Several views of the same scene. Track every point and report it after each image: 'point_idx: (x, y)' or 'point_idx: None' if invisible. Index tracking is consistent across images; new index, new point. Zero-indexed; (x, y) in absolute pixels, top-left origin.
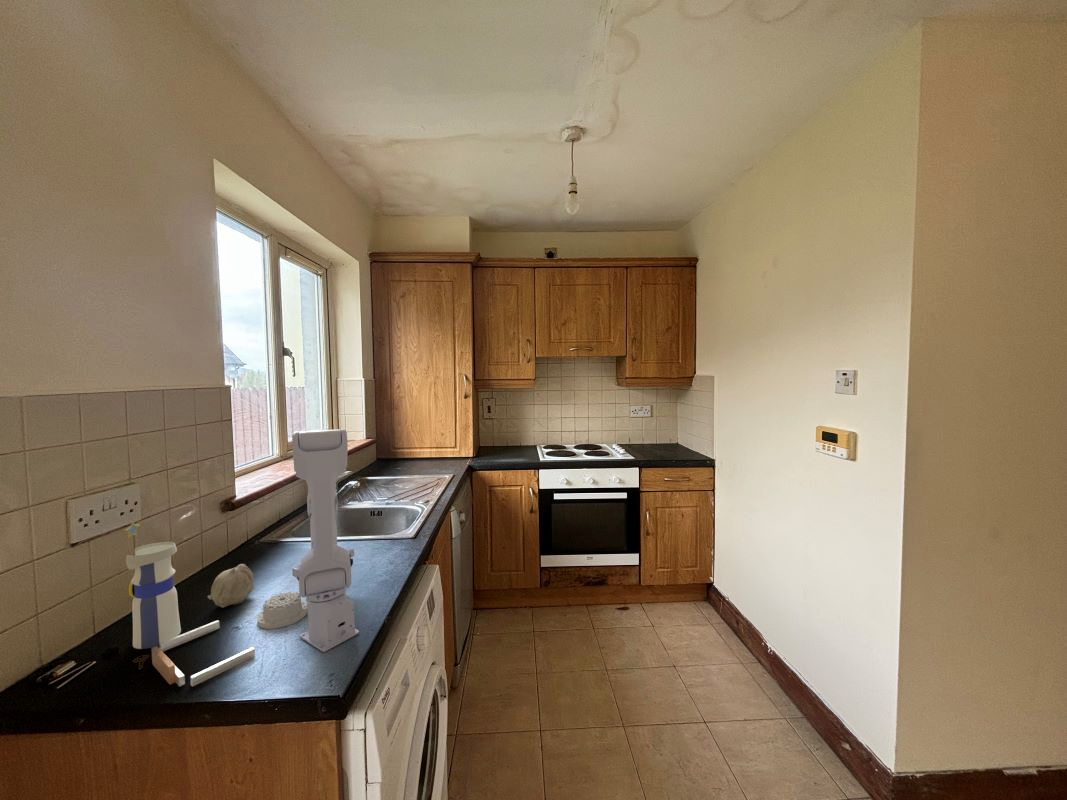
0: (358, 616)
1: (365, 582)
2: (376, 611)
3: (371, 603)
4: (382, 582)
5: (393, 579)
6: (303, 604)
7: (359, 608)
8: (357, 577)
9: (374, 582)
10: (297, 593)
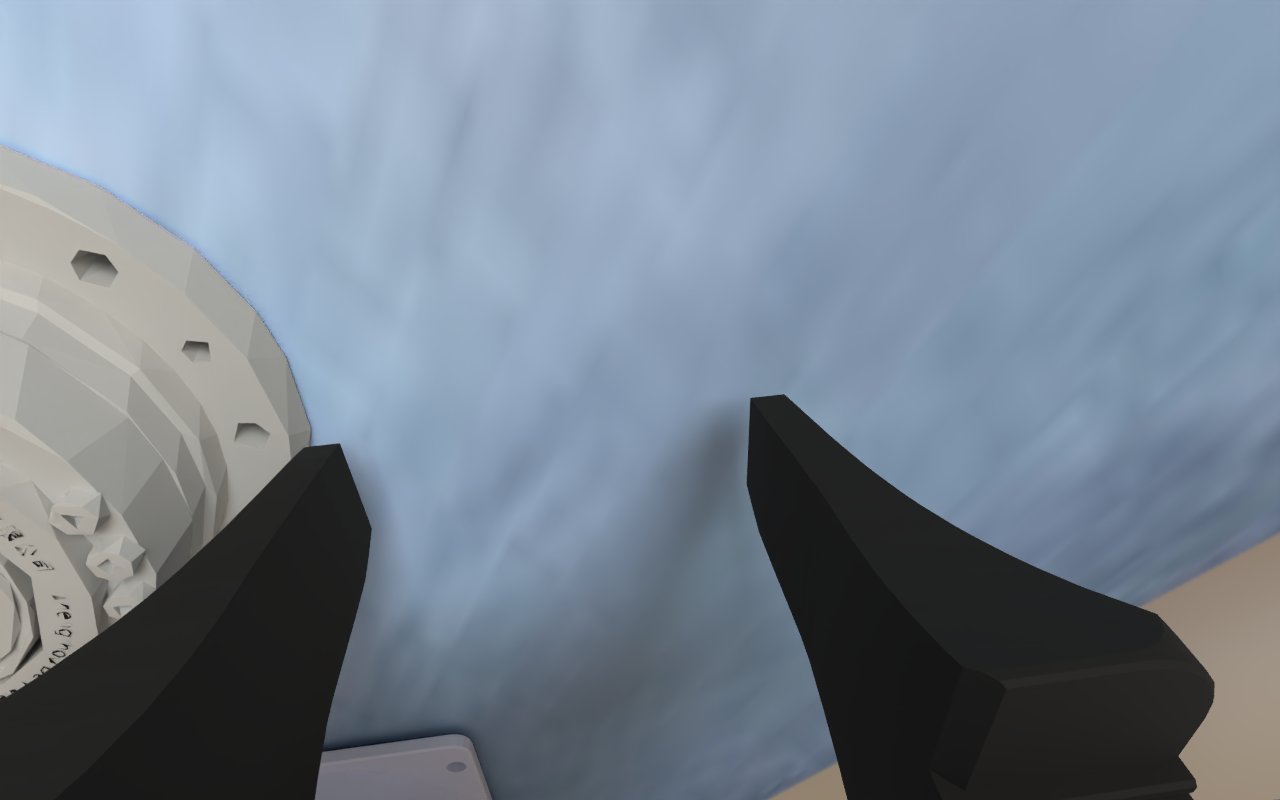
0: (616, 762)
1: (1096, 337)
2: (732, 772)
3: (788, 689)
4: (1148, 467)
5: (1239, 486)
6: (252, 455)
7: (685, 696)
8: (1209, 103)
9: (1126, 411)
10: (96, 550)
